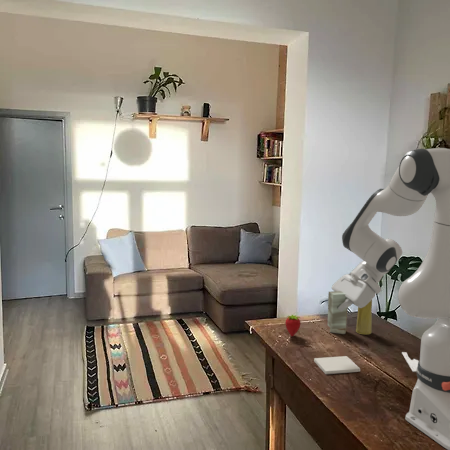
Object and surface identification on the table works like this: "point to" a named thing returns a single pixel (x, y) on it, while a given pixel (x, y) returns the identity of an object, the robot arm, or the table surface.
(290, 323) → the strawberry
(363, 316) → the vase
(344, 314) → the handle block
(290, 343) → the table surface
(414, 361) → the butcher knife
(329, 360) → the ceramic tile
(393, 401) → the table surface
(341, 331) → the skincare box
